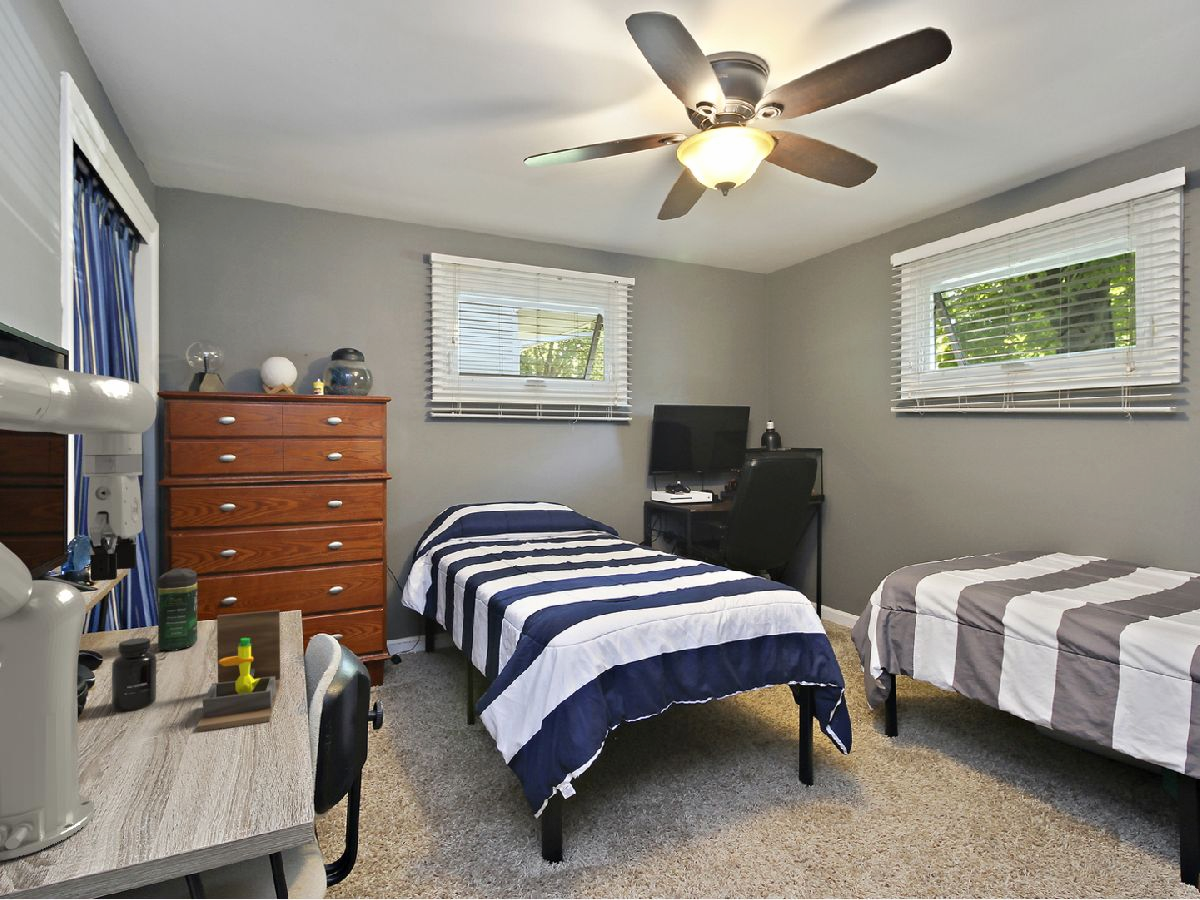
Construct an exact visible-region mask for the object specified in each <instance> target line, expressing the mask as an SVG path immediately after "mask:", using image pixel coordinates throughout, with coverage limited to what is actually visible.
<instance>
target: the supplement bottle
mask: <svg viewBox="0 0 1200 900" xmlns="http://www.w3.org/2000/svg"><path fill="white" fill-rule="evenodd" d="M150 650H151V638H147V637H137V638H130V639H126V640H123V641H120V642H119V644H118V655H119V656H118V657H116V658H115V659H114V660H113V662H112V663H111V708H112V709H113V710H115V711H119V712H127V711H128V712H131V711H135V710H141V709H144V708H146V707H149V706H150V705H153V704H154V702H155V701H156V700H157V656H156V655H155V653H153V652H151V651H150Z"/></svg>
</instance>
